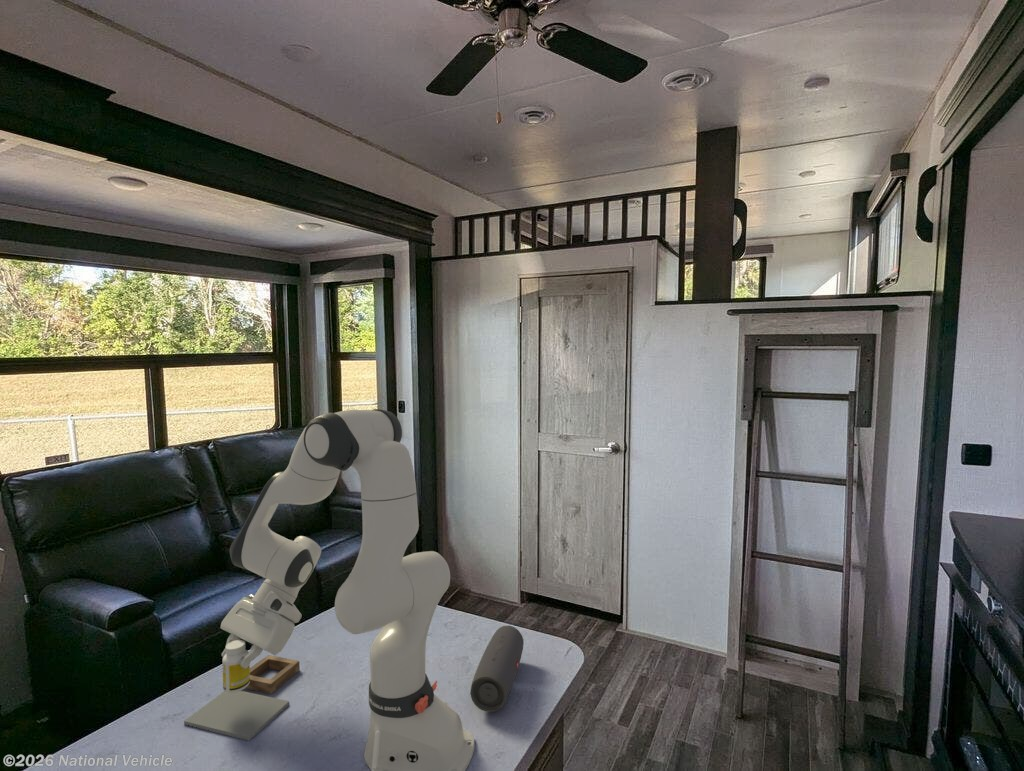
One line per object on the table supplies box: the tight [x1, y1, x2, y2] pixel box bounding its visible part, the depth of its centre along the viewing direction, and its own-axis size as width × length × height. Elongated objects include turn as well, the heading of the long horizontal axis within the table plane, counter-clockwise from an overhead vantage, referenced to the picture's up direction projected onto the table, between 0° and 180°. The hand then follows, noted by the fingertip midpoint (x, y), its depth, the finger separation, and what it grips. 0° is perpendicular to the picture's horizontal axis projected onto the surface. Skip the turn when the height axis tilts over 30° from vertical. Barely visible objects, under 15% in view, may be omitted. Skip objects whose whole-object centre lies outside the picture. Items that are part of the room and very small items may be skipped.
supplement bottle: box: [222, 639, 251, 693], centre depth 116 cm, size 5×5×10 cm
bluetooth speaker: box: [470, 625, 524, 713], centre depth 126 cm, size 23×9×10 cm, turn 168°
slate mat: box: [183, 690, 290, 742], centre depth 117 cm, size 18×12×1 cm, turn 73°
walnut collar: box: [245, 654, 300, 695], centre depth 130 cm, size 10×10×2 cm
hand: (233, 662), depth 116 cm, fingers closed on supplement bottle, 5 cm apart
